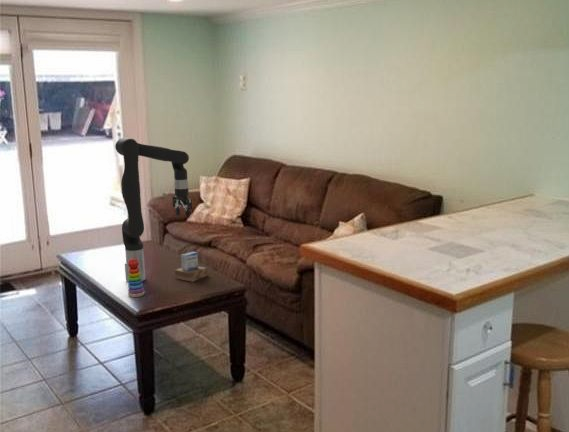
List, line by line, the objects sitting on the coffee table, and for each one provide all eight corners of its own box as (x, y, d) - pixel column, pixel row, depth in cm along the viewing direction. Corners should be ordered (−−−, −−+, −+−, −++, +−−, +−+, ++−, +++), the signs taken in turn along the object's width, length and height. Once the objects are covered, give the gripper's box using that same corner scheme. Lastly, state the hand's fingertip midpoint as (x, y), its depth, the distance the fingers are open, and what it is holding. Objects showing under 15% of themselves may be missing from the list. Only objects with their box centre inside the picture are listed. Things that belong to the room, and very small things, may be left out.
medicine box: (187, 271, 320) (186, 255, 318) (181, 269, 323) (180, 254, 321) (198, 267, 326) (197, 252, 324) (192, 266, 329) (191, 251, 327)
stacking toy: (142, 291, 304) (139, 255, 300) (146, 296, 297) (144, 259, 293) (126, 294, 300) (123, 257, 296) (130, 298, 293) (127, 261, 289)
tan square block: (192, 282, 317) (192, 273, 316) (175, 279, 324) (175, 270, 323) (207, 276, 327) (206, 267, 326) (190, 273, 333) (190, 264, 332)
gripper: (167, 186, 333) (169, 215, 336) (184, 189, 323) (185, 219, 327) (178, 185, 338) (180, 213, 342) (195, 187, 329) (196, 216, 332)
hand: (182, 216), depth 334 cm, fingers open, 8 cm apart
